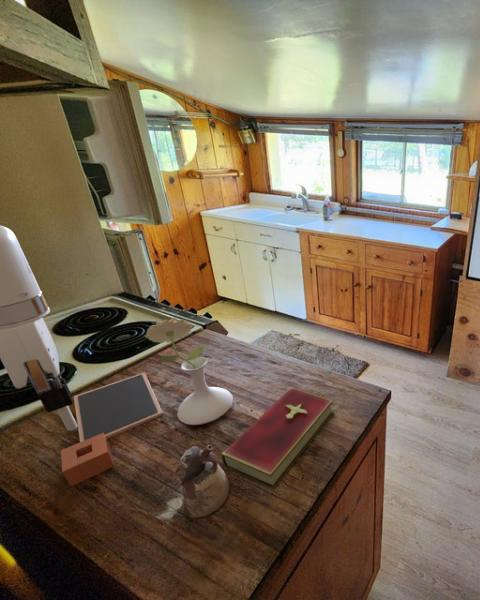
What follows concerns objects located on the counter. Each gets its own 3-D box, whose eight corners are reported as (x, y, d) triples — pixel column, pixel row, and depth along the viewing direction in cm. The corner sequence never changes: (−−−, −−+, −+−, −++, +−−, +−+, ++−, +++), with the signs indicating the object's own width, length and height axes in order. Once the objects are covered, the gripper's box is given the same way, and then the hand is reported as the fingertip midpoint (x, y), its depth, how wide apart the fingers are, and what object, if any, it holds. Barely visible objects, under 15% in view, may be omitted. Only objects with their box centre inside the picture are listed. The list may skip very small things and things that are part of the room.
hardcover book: (223, 467, 64) (219, 451, 62) (292, 398, 82) (290, 385, 80) (273, 489, 60) (270, 473, 58) (333, 412, 78) (332, 399, 76)
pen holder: (70, 486, 59) (62, 471, 57) (68, 464, 63) (60, 450, 61) (114, 466, 63) (107, 451, 61) (110, 446, 67) (103, 432, 65)
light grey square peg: (68, 435, 58) (41, 381, 53) (68, 430, 59) (41, 377, 54) (79, 431, 59) (53, 378, 54) (78, 426, 60) (53, 373, 55)
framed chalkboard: (82, 449, 66) (80, 446, 65) (74, 398, 78) (73, 395, 78) (163, 415, 75) (162, 412, 75) (145, 374, 88) (144, 371, 87)
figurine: (193, 482, 60) (177, 436, 55) (234, 476, 62) (222, 430, 57) (178, 521, 54) (159, 473, 49) (224, 513, 56) (210, 465, 51)
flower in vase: (237, 391, 83) (218, 304, 73) (229, 424, 73) (206, 328, 63) (180, 399, 80) (151, 308, 69) (163, 435, 70) (126, 336, 59)
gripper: (-22, 299, 51) (29, 391, 59) (-37, 338, 41) (28, 443, 49) (45, 287, 56) (85, 374, 64) (47, 320, 46) (93, 417, 54)
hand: (60, 403), depth 56 cm, fingers closed on light grey square peg, 1 cm apart
